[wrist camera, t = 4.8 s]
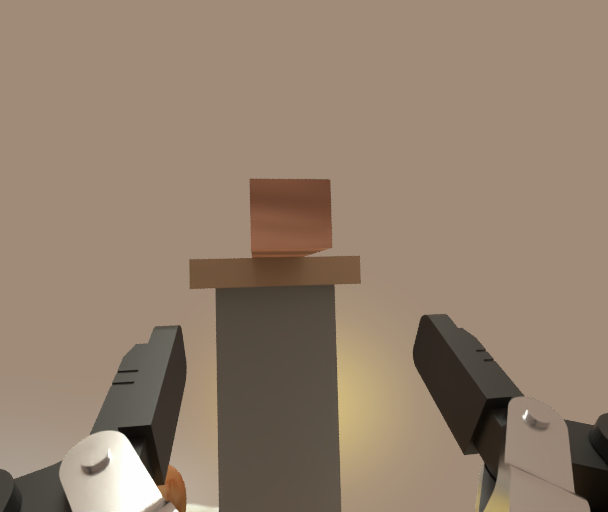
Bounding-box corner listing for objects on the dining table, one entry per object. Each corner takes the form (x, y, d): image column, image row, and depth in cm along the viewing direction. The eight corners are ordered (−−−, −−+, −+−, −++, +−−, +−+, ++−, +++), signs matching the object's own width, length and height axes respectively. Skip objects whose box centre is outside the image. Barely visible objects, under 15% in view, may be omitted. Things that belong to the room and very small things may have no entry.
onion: (147, 514, 47) (146, 435, 47) (205, 538, 42) (204, 451, 43) (70, 570, 38) (70, 473, 38) (133, 608, 33) (132, 498, 34)
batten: (332, 247, 16) (330, 179, 16) (251, 248, 15) (249, 178, 15) (283, 263, 41) (283, 237, 42) (253, 263, 41) (252, 237, 41)
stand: (375, 717, 25) (359, 256, 26) (195, 755, 23) (189, 259, 24) (327, 544, 41) (319, 262, 42) (219, 558, 39) (214, 264, 40)
